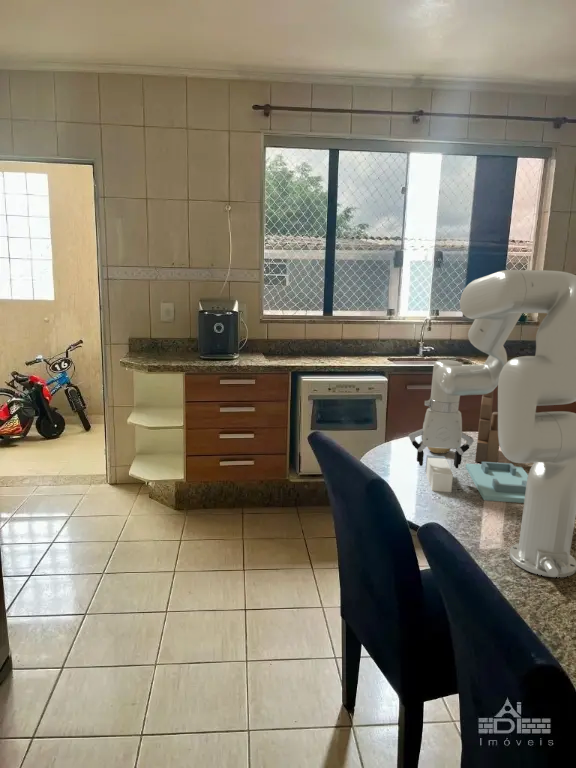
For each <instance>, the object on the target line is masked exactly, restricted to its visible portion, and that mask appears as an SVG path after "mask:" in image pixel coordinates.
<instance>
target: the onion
mask: <svg viewBox="0 0 576 768" xmlns="http://www.w3.org/2000/svg"><path fill="white" fill-rule="evenodd" d="M427 449H428V450H429V451H430V452H431V453H433V454H440V455H441V454H447V453H449V452H450V451H451V449H446V448H432V447H427Z"/></svg>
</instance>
